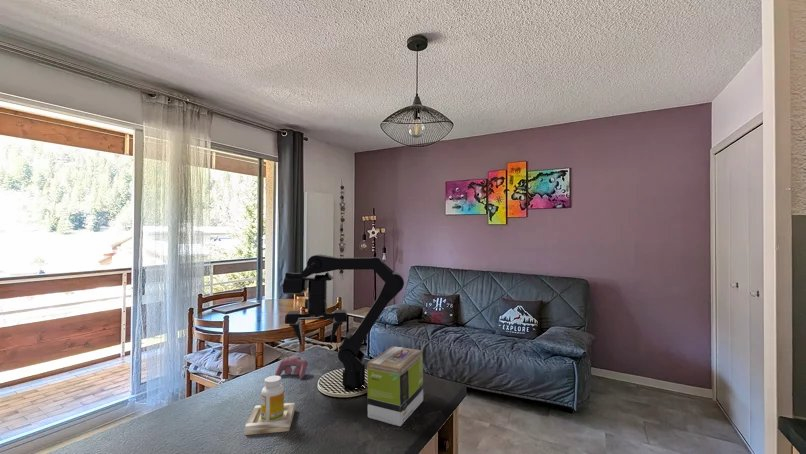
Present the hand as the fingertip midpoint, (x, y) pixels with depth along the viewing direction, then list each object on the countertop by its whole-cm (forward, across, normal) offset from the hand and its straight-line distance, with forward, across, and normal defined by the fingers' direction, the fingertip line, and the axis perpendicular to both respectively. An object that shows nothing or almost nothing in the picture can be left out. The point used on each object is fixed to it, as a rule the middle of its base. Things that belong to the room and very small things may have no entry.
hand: (316, 343), depth 106 cm
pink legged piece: (+13, +8, -10) cm, 18 cm away
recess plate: (+13, +10, +20) cm, 25 cm away
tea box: (+13, -23, +19) cm, 32 cm away
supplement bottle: (+12, +9, +19) cm, 25 cm away
